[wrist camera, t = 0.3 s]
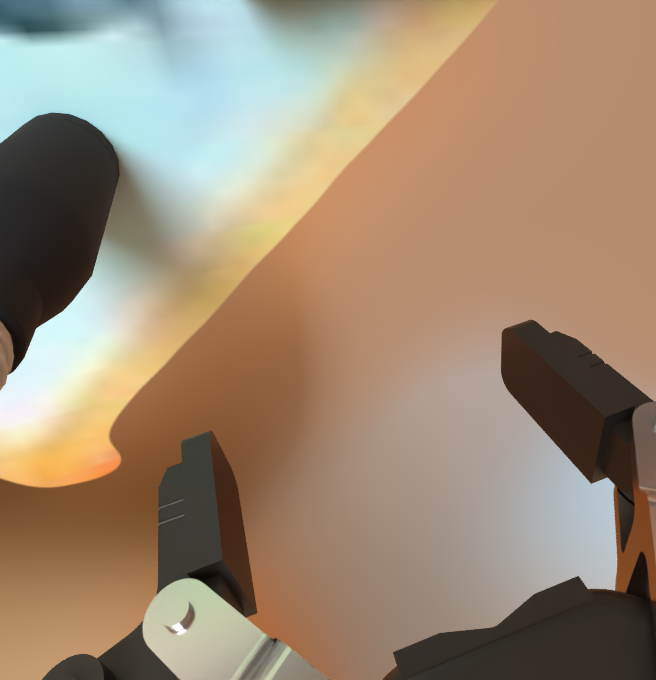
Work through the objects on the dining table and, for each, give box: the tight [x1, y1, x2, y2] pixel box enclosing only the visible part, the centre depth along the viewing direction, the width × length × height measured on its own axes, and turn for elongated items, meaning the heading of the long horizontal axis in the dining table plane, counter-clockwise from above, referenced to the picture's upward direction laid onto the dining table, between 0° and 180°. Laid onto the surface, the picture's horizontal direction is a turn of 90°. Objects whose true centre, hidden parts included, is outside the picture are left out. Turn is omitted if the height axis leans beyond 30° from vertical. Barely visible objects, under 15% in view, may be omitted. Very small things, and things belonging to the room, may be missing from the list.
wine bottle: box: [0, 113, 119, 390], centre depth 21 cm, size 6×6×30 cm
